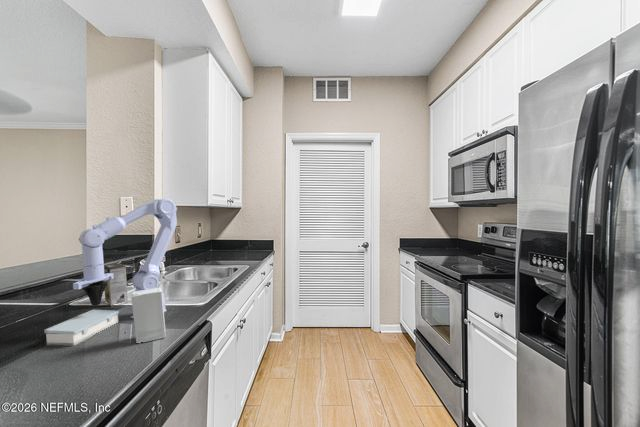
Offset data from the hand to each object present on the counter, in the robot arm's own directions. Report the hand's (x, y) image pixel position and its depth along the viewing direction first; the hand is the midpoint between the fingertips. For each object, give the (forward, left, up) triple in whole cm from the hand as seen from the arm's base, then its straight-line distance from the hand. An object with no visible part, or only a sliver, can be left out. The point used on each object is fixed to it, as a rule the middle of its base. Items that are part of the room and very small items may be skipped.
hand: (96, 304), depth 110 cm
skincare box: (-24, +7, -8) cm, 26 cm away
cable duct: (+1, +4, -8) cm, 9 cm away
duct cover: (+1, +4, -4) cm, 6 cm away
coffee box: (+15, -27, -8) cm, 32 cm away
